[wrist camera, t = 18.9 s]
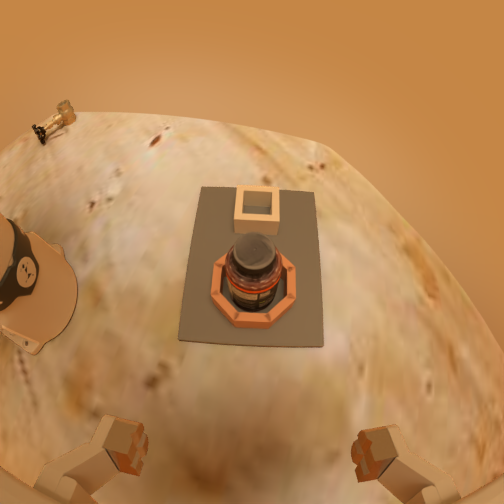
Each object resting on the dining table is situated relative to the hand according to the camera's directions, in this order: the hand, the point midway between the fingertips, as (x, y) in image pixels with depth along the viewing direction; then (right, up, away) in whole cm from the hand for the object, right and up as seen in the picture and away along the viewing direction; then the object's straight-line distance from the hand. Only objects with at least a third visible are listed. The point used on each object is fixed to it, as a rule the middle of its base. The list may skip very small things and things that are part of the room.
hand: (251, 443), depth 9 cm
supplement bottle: (0, +2, +28) cm, 28 cm away
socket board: (0, +6, +31) cm, 32 cm away
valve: (-51, +39, +48) cm, 80 cm away
